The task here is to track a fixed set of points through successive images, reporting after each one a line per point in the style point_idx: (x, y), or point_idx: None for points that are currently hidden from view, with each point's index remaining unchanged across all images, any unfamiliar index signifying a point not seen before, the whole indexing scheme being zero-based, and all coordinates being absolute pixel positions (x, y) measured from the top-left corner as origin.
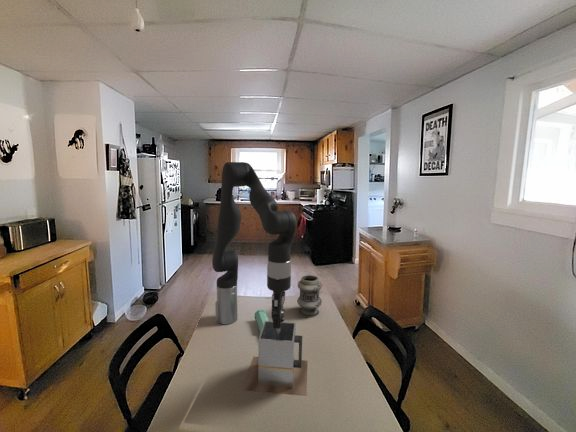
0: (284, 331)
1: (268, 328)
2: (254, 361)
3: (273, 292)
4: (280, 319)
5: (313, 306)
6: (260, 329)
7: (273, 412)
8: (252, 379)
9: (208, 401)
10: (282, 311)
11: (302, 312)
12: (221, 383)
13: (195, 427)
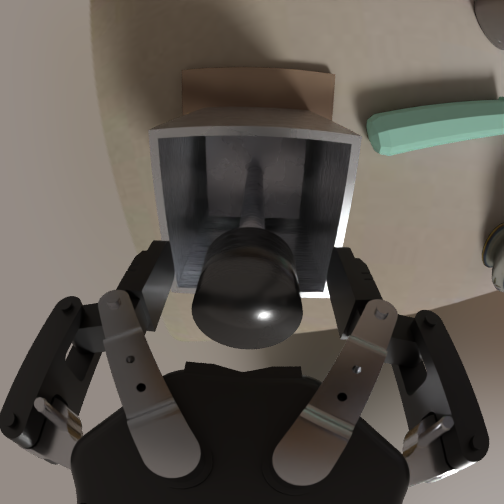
0: (322, 226)
1: (337, 150)
2: (310, 79)
3: (275, 475)
4: (159, 314)
5: (495, 273)
6: (454, 104)
7: (142, 160)
8: (226, 85)
9: (152, 5)
10: (240, 339)
11: (500, 231)
12: (216, 7)
13: (90, 21)
